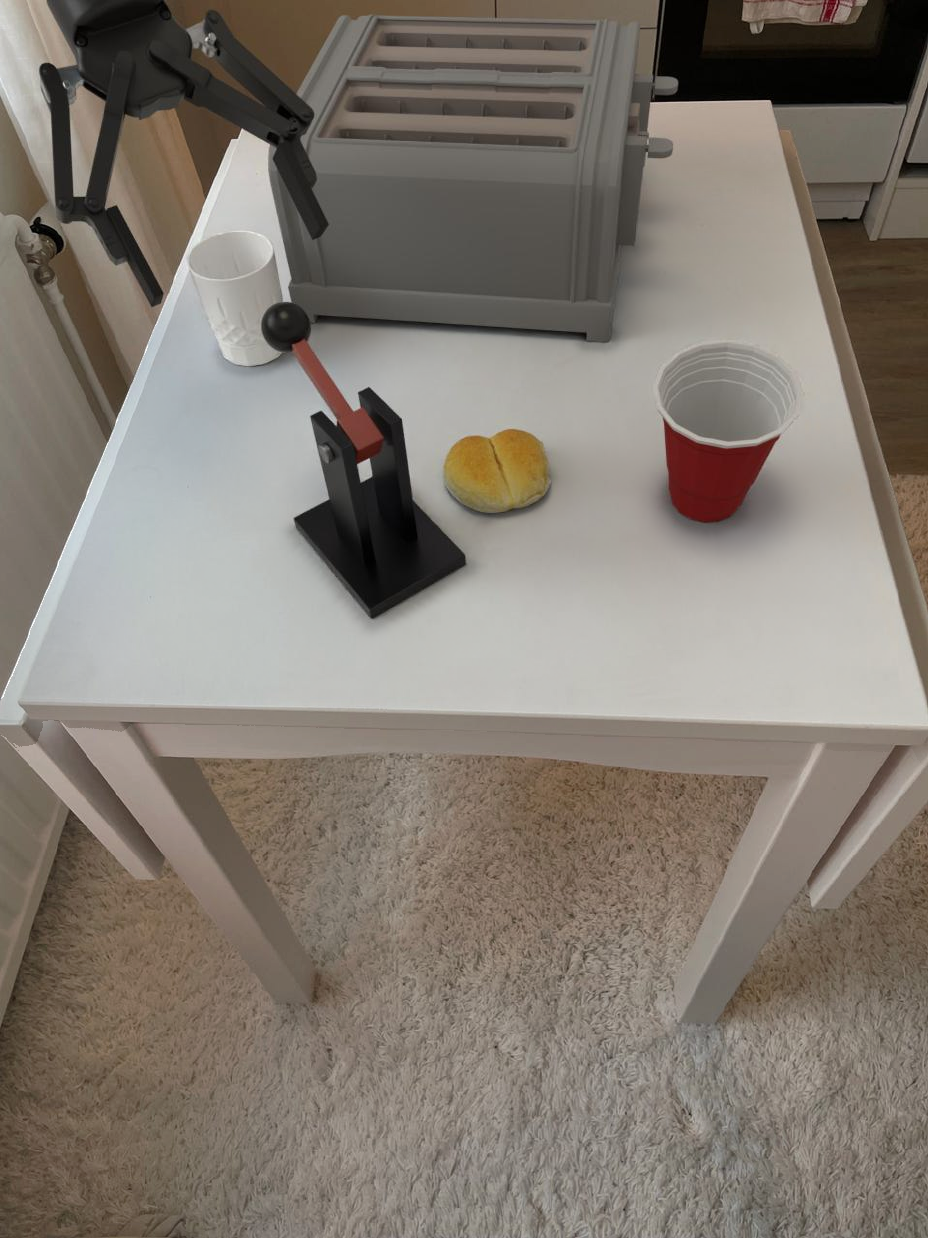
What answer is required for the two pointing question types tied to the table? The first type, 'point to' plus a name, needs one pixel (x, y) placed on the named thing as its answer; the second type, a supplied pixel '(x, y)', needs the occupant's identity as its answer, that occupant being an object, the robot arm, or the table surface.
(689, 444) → the plastic cup
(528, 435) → the bread roll
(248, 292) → the white cup
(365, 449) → the lever
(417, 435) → the table surface
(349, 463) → the bracket
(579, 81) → the toaster
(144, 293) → the robot arm
